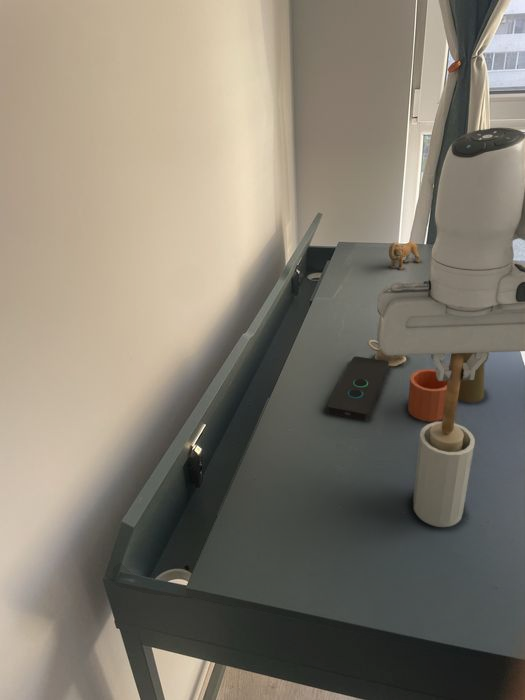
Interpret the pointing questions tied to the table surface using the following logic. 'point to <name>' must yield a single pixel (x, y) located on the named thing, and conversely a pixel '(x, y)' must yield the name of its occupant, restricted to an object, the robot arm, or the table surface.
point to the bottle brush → (450, 412)
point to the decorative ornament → (392, 360)
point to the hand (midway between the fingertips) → (454, 378)
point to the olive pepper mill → (472, 384)
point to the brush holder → (426, 395)
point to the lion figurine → (402, 252)
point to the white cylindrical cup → (442, 480)
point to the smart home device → (358, 388)
